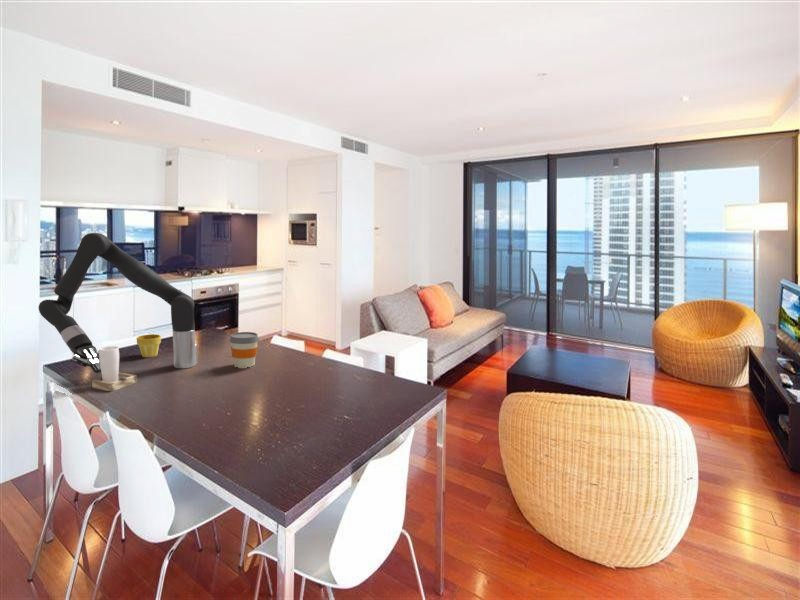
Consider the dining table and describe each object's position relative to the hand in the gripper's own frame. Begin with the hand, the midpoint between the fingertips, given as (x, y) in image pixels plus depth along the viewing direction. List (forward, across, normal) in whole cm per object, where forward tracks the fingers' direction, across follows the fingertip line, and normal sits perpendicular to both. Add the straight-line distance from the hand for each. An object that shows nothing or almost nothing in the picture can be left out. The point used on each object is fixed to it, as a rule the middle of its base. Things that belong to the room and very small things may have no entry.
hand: (99, 371), depth 176 cm
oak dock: (+9, 0, -2) cm, 9 cm away
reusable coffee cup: (+29, +43, -23) cm, 57 cm away
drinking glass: (+7, 0, 0) cm, 7 cm away
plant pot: (-7, +36, +13) cm, 39 cm away
